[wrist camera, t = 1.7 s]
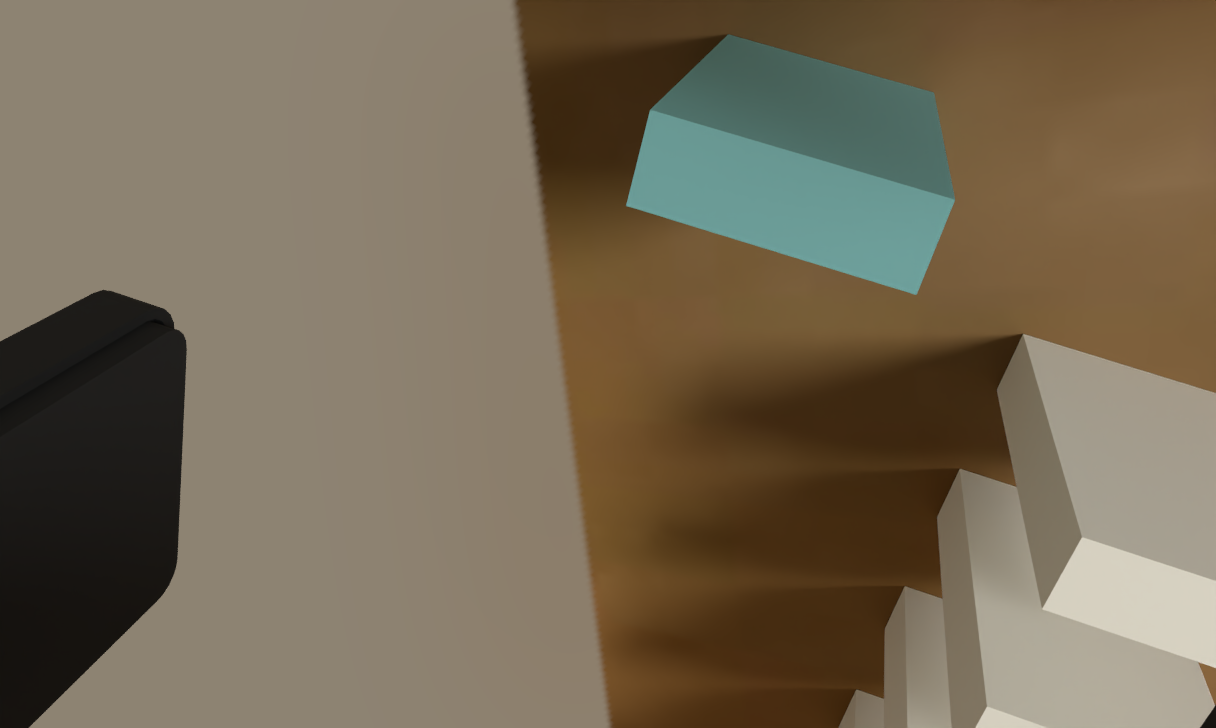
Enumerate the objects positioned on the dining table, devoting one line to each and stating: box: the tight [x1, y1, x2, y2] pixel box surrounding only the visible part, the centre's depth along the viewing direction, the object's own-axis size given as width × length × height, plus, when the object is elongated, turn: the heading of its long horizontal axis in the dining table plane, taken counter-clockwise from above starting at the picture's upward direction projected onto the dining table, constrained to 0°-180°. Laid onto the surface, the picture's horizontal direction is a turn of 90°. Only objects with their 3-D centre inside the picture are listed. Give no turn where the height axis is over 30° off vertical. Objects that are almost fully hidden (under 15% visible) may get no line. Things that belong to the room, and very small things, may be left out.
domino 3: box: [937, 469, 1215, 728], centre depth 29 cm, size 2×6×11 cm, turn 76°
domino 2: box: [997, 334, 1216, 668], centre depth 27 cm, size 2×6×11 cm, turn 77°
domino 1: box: [626, 34, 955, 295], centre depth 25 cm, size 2×6×11 cm, turn 77°
